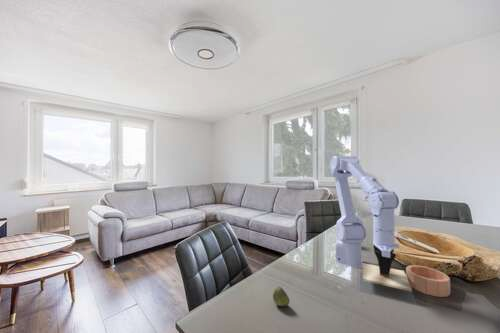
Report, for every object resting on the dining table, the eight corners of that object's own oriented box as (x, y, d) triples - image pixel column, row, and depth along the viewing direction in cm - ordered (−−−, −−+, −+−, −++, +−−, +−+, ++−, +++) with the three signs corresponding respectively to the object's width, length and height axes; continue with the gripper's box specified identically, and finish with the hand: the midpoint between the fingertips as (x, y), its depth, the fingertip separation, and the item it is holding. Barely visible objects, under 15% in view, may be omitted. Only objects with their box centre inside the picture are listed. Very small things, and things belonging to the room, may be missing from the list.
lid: (362, 280, 62) (362, 265, 63) (362, 264, 73) (362, 251, 73) (412, 291, 57) (411, 275, 57) (404, 272, 67) (403, 258, 67)
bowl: (410, 292, 62) (410, 276, 62) (404, 277, 71) (403, 262, 71) (455, 302, 57) (455, 284, 57) (442, 285, 66) (442, 269, 66)
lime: (274, 298, 59) (274, 281, 59) (291, 302, 57) (291, 284, 58) (270, 308, 55) (270, 289, 55) (288, 312, 53) (288, 293, 53)
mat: (359, 292, 62) (359, 291, 62) (359, 272, 74) (359, 271, 74) (417, 307, 55) (417, 305, 55) (407, 282, 67) (407, 281, 67)
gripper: (403, 237, 57) (403, 286, 57) (395, 225, 70) (396, 265, 69) (373, 233, 60) (374, 279, 60) (371, 222, 73) (371, 260, 73)
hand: (384, 271), depth 65 cm, fingers closed on lid, 2 cm apart
